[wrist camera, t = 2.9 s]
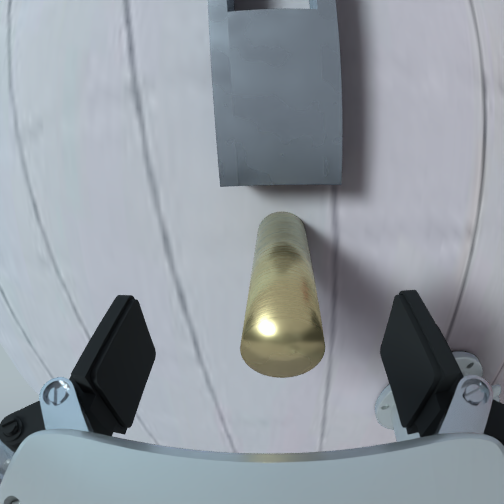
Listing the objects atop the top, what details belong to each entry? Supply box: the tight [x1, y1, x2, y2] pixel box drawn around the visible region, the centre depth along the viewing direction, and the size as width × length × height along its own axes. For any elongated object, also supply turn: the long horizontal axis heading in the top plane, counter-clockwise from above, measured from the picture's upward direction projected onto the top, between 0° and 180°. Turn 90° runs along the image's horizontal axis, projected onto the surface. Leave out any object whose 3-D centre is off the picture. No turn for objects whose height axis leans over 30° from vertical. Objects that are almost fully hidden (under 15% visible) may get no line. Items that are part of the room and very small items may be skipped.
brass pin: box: [240, 212, 325, 378], centre depth 15 cm, size 3×3×10 cm
